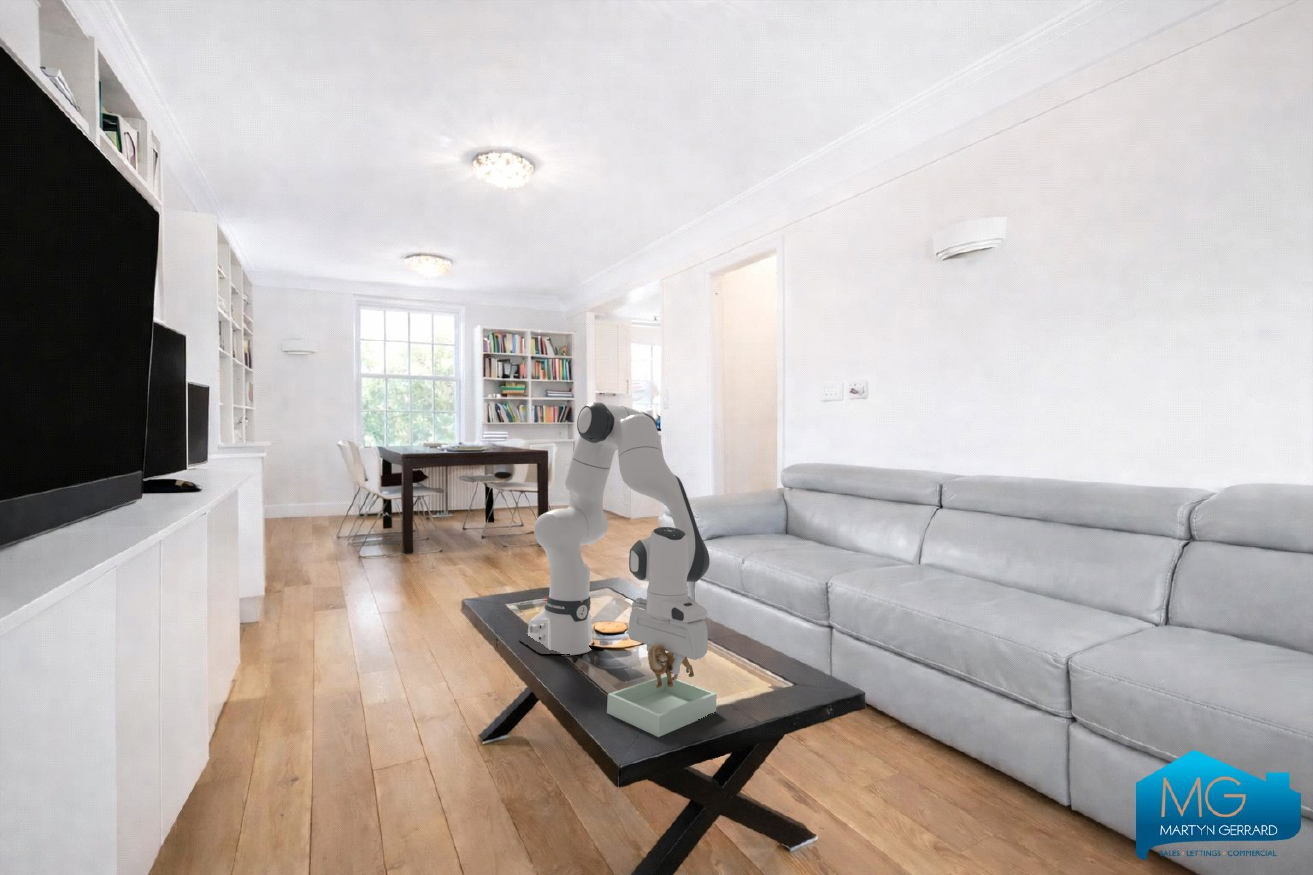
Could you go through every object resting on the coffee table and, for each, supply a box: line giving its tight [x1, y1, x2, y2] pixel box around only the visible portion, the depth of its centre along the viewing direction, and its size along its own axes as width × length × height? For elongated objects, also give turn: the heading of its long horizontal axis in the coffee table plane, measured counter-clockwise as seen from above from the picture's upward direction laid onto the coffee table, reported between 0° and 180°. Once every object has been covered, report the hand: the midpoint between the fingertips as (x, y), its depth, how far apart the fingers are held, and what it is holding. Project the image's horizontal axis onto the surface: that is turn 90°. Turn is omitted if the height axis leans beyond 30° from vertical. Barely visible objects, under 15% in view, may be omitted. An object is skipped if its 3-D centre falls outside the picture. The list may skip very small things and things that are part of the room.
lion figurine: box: [647, 645, 695, 688], centre depth 137 cm, size 15×5×9 cm, turn 152°
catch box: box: [606, 674, 718, 738], centre depth 135 cm, size 15×18×4 cm
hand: (664, 669), depth 135 cm, fingers closed on lion figurine, 4 cm apart
